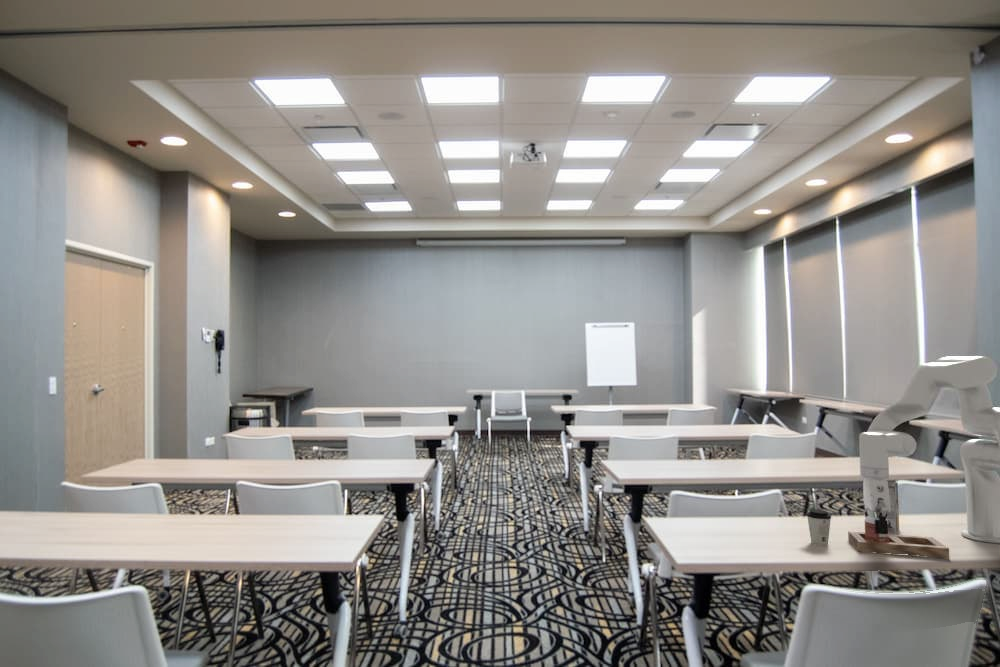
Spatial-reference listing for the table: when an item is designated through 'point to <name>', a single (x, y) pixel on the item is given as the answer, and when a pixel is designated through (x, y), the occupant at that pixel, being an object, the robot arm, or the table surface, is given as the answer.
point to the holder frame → (900, 545)
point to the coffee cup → (819, 526)
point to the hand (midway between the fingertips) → (876, 529)
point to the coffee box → (893, 509)
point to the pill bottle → (873, 529)
